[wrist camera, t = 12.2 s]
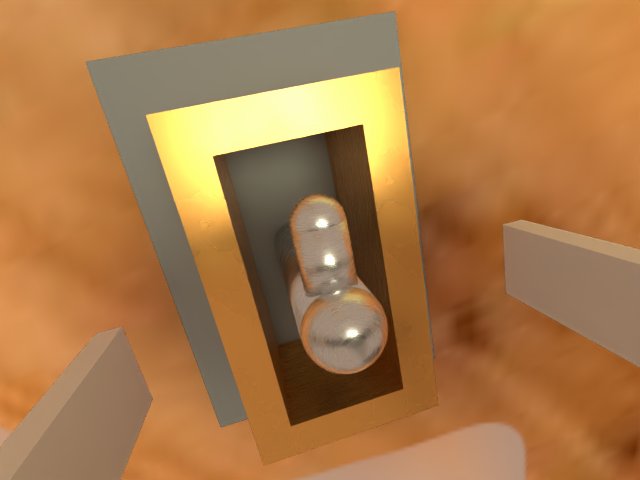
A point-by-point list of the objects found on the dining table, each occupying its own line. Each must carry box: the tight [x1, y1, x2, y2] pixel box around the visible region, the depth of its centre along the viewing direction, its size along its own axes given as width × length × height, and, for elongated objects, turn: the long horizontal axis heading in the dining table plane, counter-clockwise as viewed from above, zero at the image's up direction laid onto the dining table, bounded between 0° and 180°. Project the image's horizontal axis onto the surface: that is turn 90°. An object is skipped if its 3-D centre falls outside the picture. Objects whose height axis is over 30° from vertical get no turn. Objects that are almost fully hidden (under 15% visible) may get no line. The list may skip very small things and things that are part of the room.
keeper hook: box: [275, 193, 388, 374], centre depth 13 cm, size 5×2×10 cm, turn 12°
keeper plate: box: [86, 11, 435, 427], centre depth 19 cm, size 20×14×1 cm
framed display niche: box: [146, 67, 438, 465], centre depth 15 cm, size 14×8×6 cm, turn 12°
